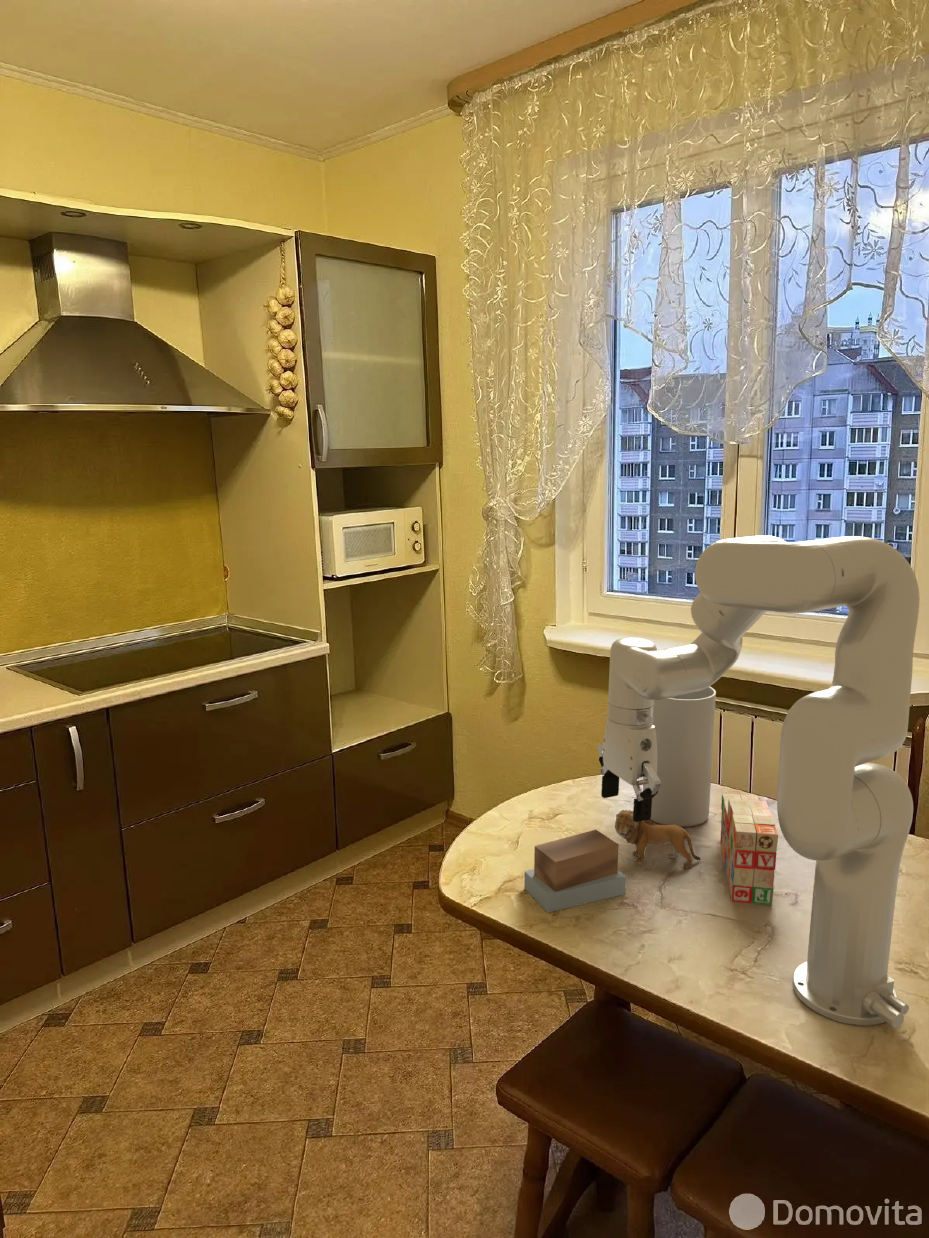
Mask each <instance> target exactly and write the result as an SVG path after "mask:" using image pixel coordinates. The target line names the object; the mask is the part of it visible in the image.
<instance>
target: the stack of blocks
mask: <svg viewBox="0 0 929 1238" xmlns="http://www.w3.org/2000/svg"><path fill="white" fill-rule="evenodd" d="M771 812H772V811H771V810H770V809H769V806H768V802H767V801H766V800H760V799H759V796H758V795H752V794H751V795H750V794H736V793H735V794H734V793H722V794H721V818H720V819H721V820H720V825H721V826H720V843H721V851H722V855H723V857H722V858H723V862H724V865H725V872H726V877H727V881H728V888H729V895H730V901H731V902H732V903H733V902H735V903H742V904H743V903H747V904H756V905H768V906H772V905H773V897H774V881H775V870H776V863H777V852H778V851H777V849H778V841H779V832H778V831H777V828H776V823H775V820H774V818H773V815H772V813H771Z"/></svg>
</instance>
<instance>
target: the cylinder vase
mask: <svg viewBox="0 0 929 1238" xmlns="http://www.w3.org/2000/svg"><path fill="white" fill-rule="evenodd" d="M716 695H717V691H716V690H715V689H714V688H713V687H711V686H709V687H708V688H706V689H703V690H701V691H697V692H692V693H687V694H682V695H678V696H675V697H671V698H666V699H661V700H654V716H653V724H652V725H654V726H655V731H656V739H657V776H658V777H659V779H660V781H661V785H660V787H659V789H658V793H657V794H656V795H655V797H654V798H653V799H652V809H651V818H650V819H649V820H651V821H653V822H655V823H657V824H658V825H672V824H674V825H677V826H680V827H682V828H690V827H694V826H699V825H701V824H703V823H705V822H706V821H707V820H708V818H709V816H710V801H711V786H712V784H711V783H712V767H713V766H712V764H713V748H714V731H715V715H716ZM645 789H646V788H645V785H642V791H644V790H645Z"/></svg>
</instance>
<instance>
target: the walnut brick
mask: <svg viewBox="0 0 929 1238" xmlns="http://www.w3.org/2000/svg"><path fill="white" fill-rule="evenodd" d="M619 845H620V844H619V843H618V842H617V841H614V840H613V839H611V838H610V837H609V836H607V835H606V834H604V833H603V832H601V831H599V830H598V829H593V830H589V831H585V832H582V833H577V834H574V835H571V836H566V837H562V838H560V839H555V840H551V841H548V842H544V843H540V844H536V845H534V855H533V856H534V858H533V859H534V861H533V862H534V864H533V865H534V867H533V869H534V875H535V876H536V877H538V878H539V879H540V880H541V881H543V882H544V883H545V884H546V885H547V886H549V887H550V888H551V889H552V890H554V891H555V892H556V891H560V890H563V889H566V888H570V887H573V886H576V885H580V884H583V883H586V882H590V881H593V880H596V879H600V878H603V877H606V876H610V875H613V874H616V873H618V870H619V847H620V846H619Z"/></svg>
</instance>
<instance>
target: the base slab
mask: <svg viewBox="0 0 929 1238" xmlns="http://www.w3.org/2000/svg"><path fill="white" fill-rule="evenodd" d="M626 885H627V875H625V874H624V873H623V872H621V871H620V870H619V869H618V873H616V874H613V875H610V876H606V877H603V878H600V879H596V880H593V881H590V882H586V883H583V884H580V885H576V886H573V887H570V888H566V889H563V890H560V891H556V892H555V891H554V890H552V889H551V888H550V887H549V886H547V885H546V884H545V883H544V882H543V881H541V880H540V879H539V878H538V877H536V876H535V875H534V868H533V869H528V870H525V871H524V889H525V890H526V891H527V892H528V894H530V895H531V897H532V898H533V897H534V898H533V899H534V900H535V901H536V902H537V903H538V904H539V905H540V906H541V907H542V909H544V911H546V912H547V913H552V912H556V911H561V910H564V909H569V908H573V907H577V906H580V905H585V904H589V903H593V902H597V901H601V900H605V899H609V898H613V897H614V898H615V897H617V896H621V895H626V889H627V888H626Z"/></svg>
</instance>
